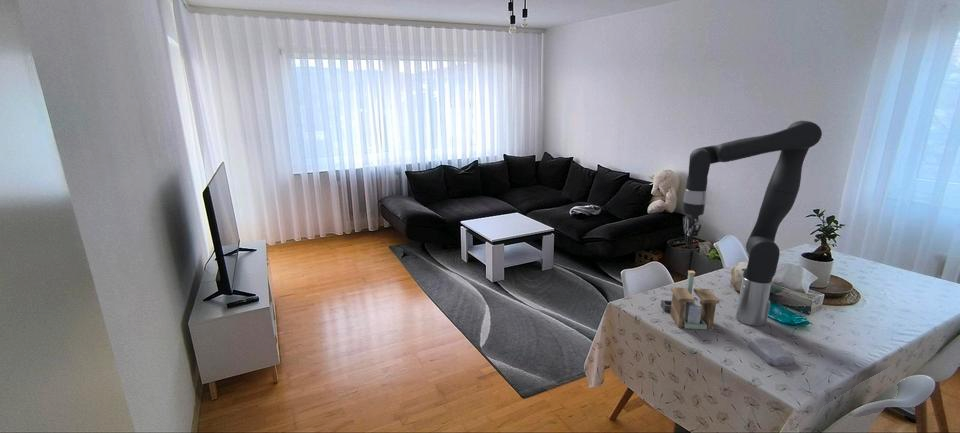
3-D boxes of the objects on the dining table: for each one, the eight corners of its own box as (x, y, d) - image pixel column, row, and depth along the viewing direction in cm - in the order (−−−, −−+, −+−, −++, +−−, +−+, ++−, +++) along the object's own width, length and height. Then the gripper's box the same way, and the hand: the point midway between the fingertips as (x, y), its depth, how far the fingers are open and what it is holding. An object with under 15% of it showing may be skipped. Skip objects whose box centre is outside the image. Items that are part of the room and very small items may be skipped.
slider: (694, 313, 171) (701, 271, 167) (706, 329, 160) (713, 284, 155) (674, 312, 172) (680, 270, 167) (685, 328, 160) (691, 283, 156)
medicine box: (699, 327, 162) (702, 306, 159) (686, 326, 162) (689, 305, 160) (693, 317, 169) (696, 297, 167) (681, 316, 170) (684, 296, 168)
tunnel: (704, 316, 170) (708, 288, 167) (714, 329, 160) (719, 300, 157) (667, 314, 171) (670, 287, 168) (675, 327, 162) (679, 298, 159)
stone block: (769, 349, 151) (743, 346, 149) (774, 338, 149) (749, 334, 148) (796, 371, 139) (768, 367, 138) (802, 359, 138) (774, 355, 137)
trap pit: (699, 307, 177) (699, 302, 176) (703, 313, 172) (704, 307, 171) (660, 305, 178) (661, 300, 178) (664, 311, 174) (664, 305, 173)
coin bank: (747, 279, 204) (753, 253, 199) (773, 299, 188) (780, 271, 183) (715, 281, 203) (720, 255, 198) (739, 301, 187) (745, 274, 182)
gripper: (711, 205, 159) (705, 250, 163) (698, 197, 172) (692, 239, 176) (690, 205, 160) (684, 249, 164) (678, 197, 173) (673, 238, 177)
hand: (688, 244), depth 170 cm, fingers closed
